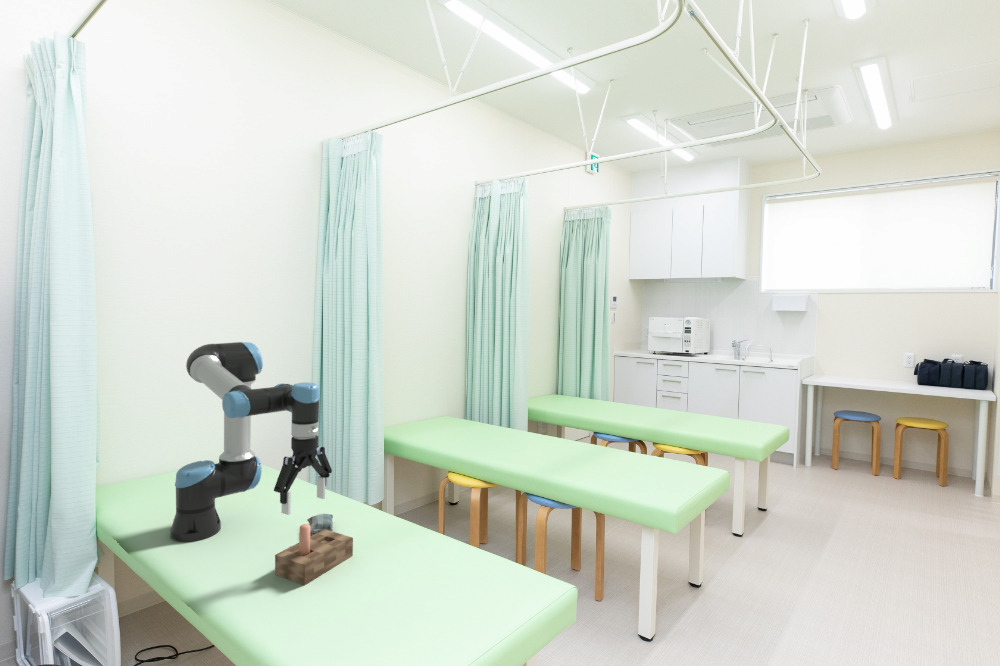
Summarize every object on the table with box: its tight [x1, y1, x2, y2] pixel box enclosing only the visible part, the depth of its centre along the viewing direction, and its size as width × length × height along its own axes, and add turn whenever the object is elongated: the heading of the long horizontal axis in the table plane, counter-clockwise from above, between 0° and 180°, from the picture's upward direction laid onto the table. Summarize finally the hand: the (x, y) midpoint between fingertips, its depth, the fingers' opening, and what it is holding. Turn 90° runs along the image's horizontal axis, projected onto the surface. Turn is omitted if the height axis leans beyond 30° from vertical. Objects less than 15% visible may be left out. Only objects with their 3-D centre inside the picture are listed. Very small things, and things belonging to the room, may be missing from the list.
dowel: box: [298, 523, 311, 556], centre depth 163 cm, size 3×3×12 cm
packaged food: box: [306, 513, 334, 535], centre depth 191 cm, size 9×12×5 cm
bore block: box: [274, 529, 354, 586], centre depth 167 cm, size 12×20×6 cm, turn 154°
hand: (304, 505), depth 162 cm, fingers open, 13 cm apart
